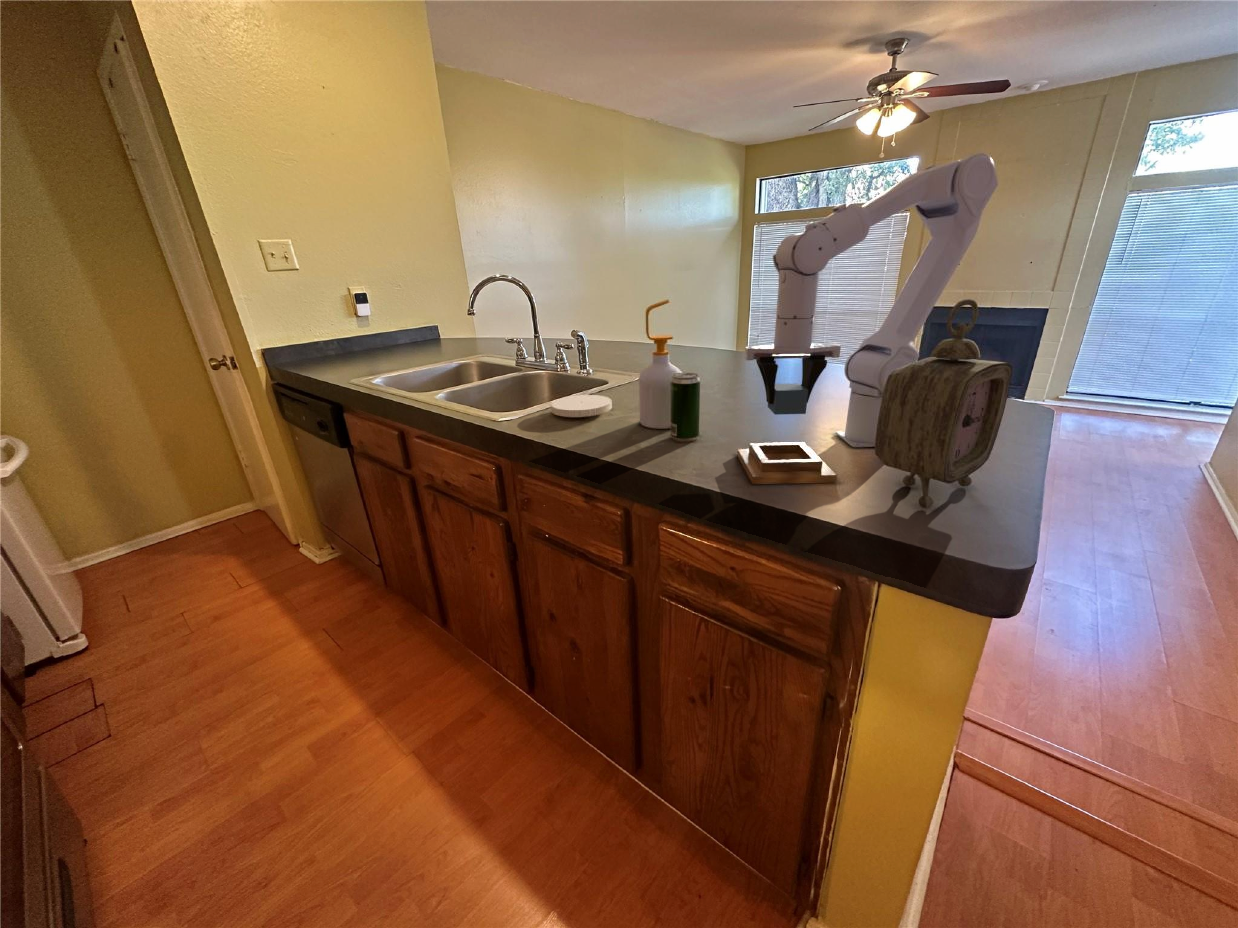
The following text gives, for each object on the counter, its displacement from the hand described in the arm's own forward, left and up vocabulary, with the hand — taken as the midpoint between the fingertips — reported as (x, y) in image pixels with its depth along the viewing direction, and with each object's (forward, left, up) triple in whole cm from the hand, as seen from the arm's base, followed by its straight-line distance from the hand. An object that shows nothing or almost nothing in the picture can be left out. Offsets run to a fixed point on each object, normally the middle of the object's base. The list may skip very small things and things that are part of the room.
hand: (787, 402), depth 80 cm
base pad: (+2, +8, -8) cm, 12 cm away
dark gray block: (0, 0, -1) cm, 1 cm away
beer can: (+16, -8, -9) cm, 20 cm away
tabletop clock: (-14, +18, -9) cm, 24 cm away
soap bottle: (+20, -18, -9) cm, 28 cm away
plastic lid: (+38, -28, -9) cm, 48 cm away
